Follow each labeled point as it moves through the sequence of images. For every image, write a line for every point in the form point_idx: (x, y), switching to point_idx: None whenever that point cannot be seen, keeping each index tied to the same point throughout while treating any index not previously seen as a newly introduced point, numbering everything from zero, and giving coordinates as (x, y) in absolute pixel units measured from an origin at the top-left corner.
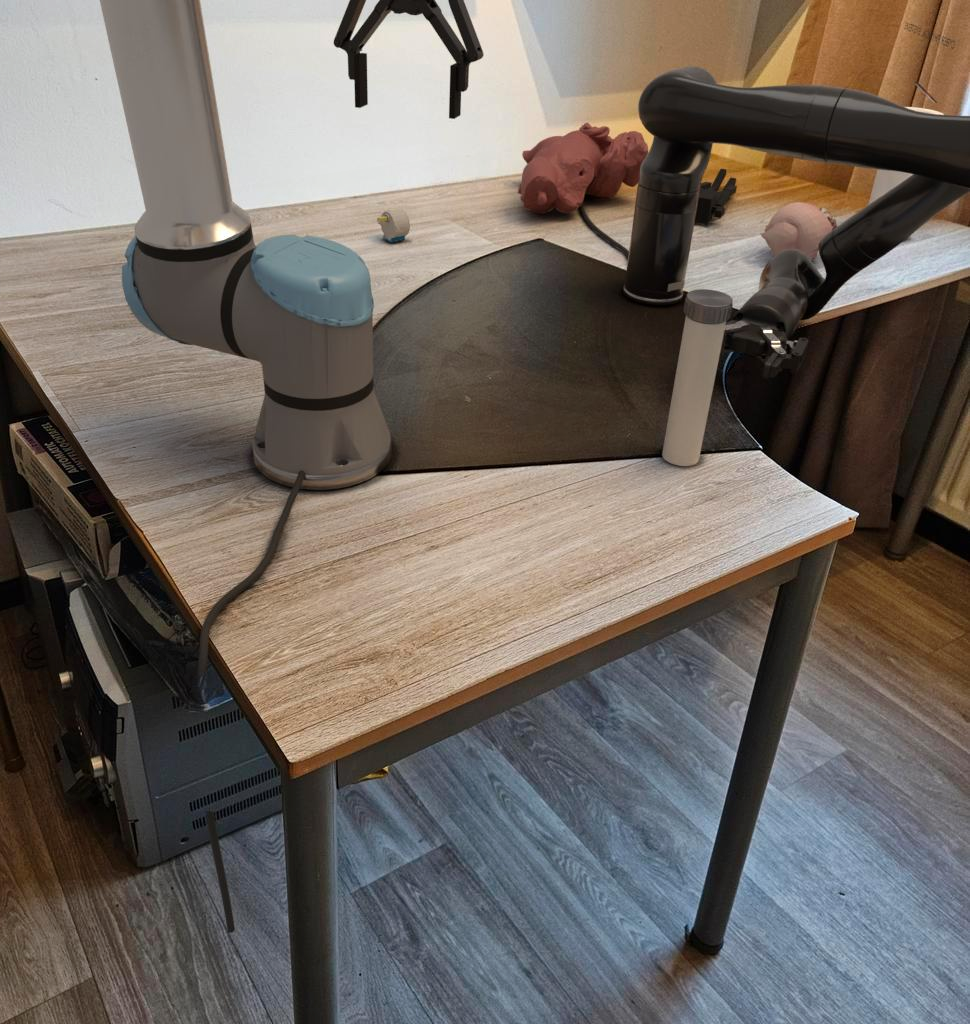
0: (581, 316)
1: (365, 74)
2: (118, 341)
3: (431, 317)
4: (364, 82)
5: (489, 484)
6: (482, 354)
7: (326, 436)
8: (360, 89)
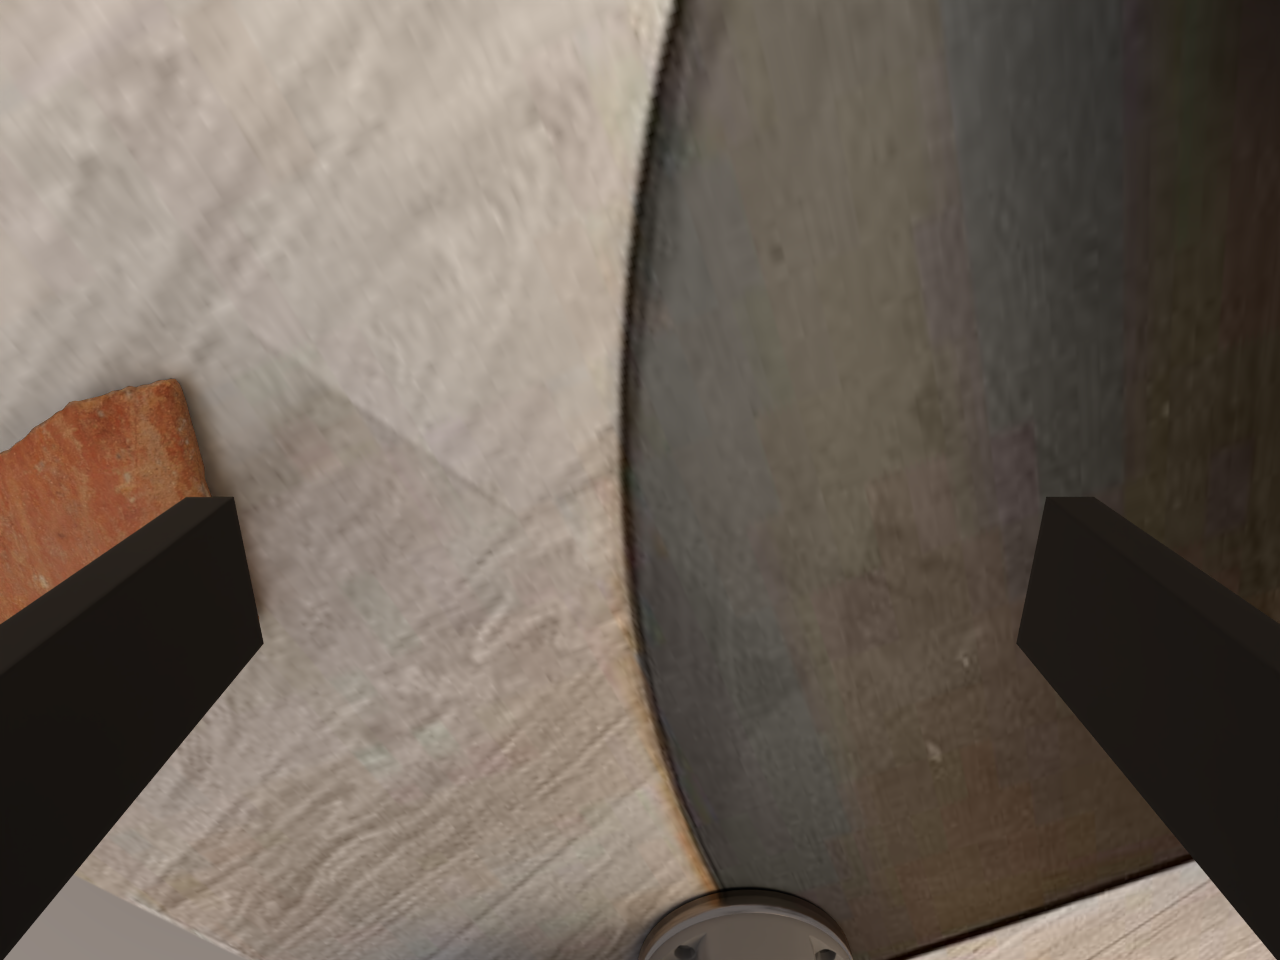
0: (1193, 214)
1: (71, 678)
2: None
3: (747, 401)
4: (132, 660)
5: (1014, 956)
6: (929, 563)
7: None
8: (186, 720)
